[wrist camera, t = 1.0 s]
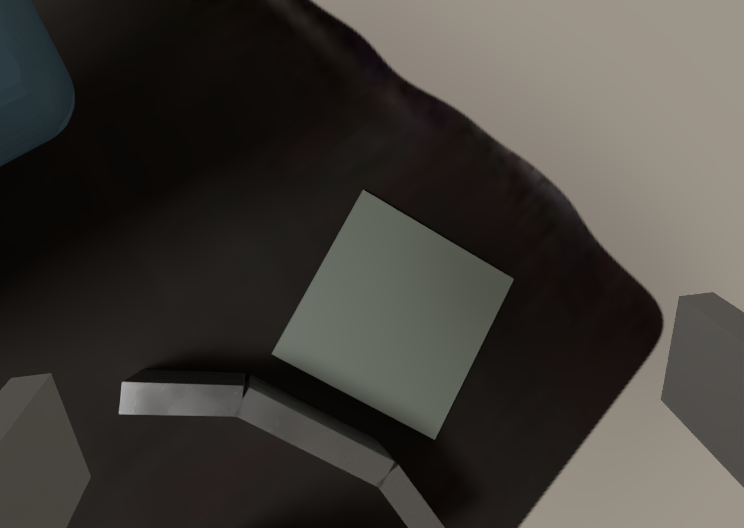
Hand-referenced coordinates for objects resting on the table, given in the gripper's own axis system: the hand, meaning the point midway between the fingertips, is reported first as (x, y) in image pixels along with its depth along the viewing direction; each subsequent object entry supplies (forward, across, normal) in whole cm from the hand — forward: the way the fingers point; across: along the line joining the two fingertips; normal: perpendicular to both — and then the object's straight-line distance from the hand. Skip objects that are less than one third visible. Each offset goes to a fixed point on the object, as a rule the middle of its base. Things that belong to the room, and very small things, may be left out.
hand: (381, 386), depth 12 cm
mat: (+21, +3, -11) cm, 24 cm away
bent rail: (+17, -4, -16) cm, 24 cm away
